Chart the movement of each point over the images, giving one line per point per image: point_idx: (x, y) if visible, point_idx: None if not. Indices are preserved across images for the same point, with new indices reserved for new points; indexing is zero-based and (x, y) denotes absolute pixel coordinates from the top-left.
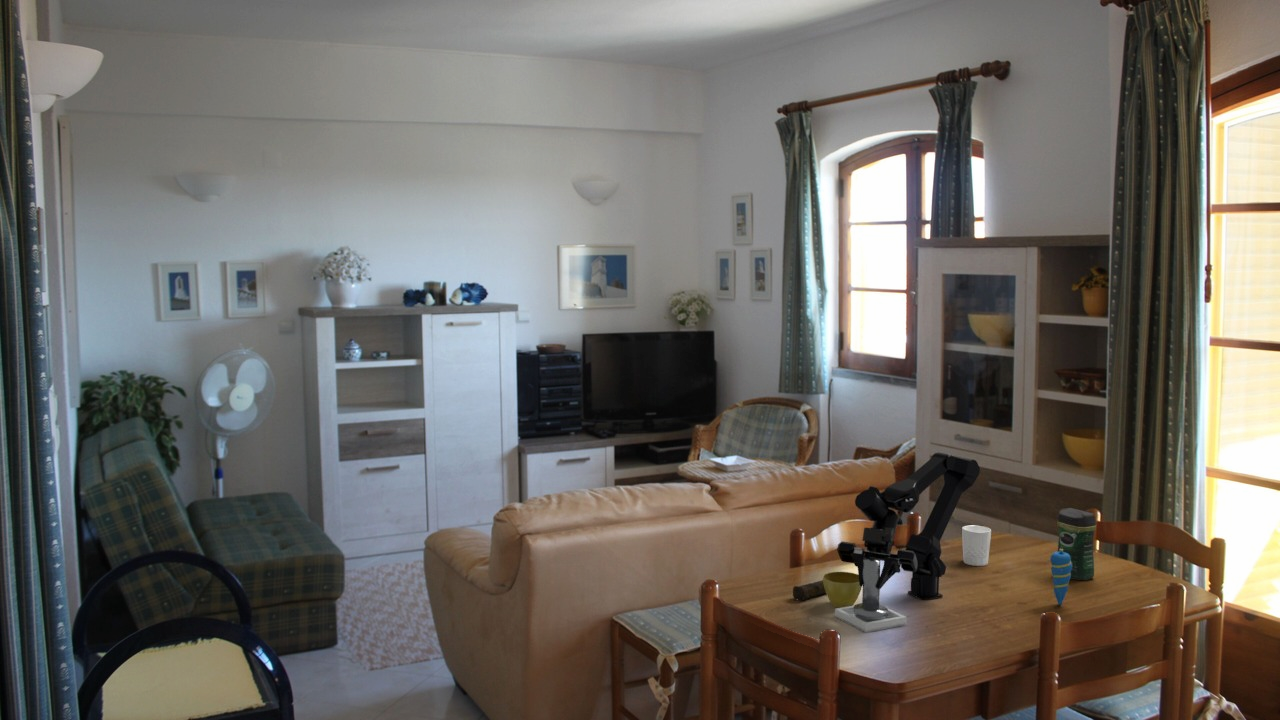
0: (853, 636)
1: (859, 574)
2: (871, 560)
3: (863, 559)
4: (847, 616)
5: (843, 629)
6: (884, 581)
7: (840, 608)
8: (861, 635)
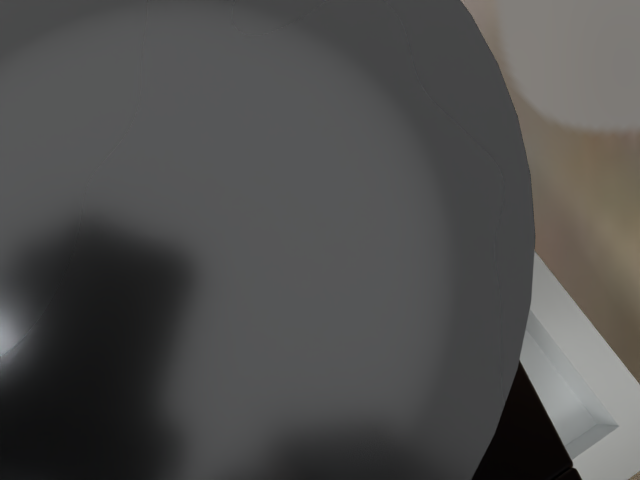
0: (473, 15)
1: (518, 391)
2: (97, 74)
3: (520, 177)
4: (540, 263)
5: (552, 138)
6: None
7: (623, 459)
8: None
